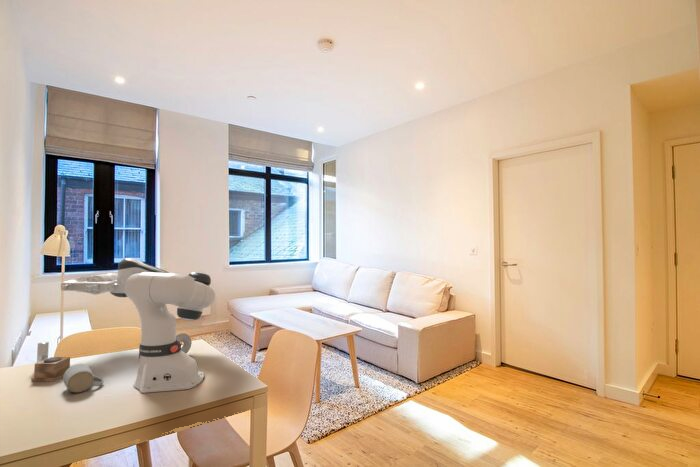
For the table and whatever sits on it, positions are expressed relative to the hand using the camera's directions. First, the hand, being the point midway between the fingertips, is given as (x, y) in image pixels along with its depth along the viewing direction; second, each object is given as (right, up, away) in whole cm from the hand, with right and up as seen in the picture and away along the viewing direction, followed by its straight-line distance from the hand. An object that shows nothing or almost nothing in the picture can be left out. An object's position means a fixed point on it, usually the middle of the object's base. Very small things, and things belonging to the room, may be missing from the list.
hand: (75, 288), depth 145 cm
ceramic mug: (+25, -30, -28) cm, 48 cm away
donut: (+41, -31, +6) cm, 52 cm away
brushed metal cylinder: (-4, -30, -11) cm, 32 cm away
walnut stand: (+6, -29, -19) cm, 36 cm away
